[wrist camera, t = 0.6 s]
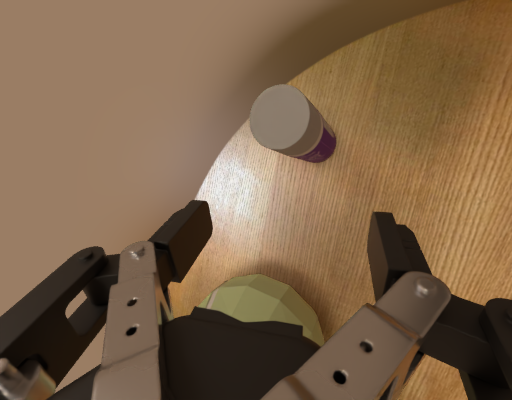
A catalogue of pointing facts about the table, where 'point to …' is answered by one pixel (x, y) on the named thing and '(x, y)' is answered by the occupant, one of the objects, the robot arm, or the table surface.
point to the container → (291, 125)
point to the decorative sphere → (264, 303)
